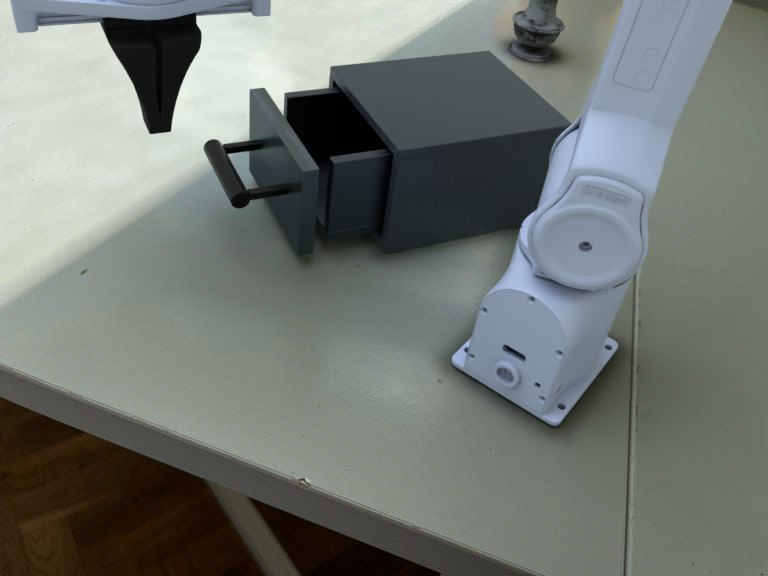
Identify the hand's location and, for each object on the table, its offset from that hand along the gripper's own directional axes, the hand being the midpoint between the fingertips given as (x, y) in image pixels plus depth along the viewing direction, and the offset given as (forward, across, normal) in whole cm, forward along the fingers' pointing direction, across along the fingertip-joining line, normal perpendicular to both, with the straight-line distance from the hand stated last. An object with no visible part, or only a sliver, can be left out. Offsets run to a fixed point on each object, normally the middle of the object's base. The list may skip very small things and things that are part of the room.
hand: (157, 125), depth 51 cm
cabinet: (+9, -22, 0) cm, 24 cm away
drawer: (+9, -13, 0) cm, 15 cm away
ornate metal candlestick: (+10, -46, -22) cm, 52 cm away
